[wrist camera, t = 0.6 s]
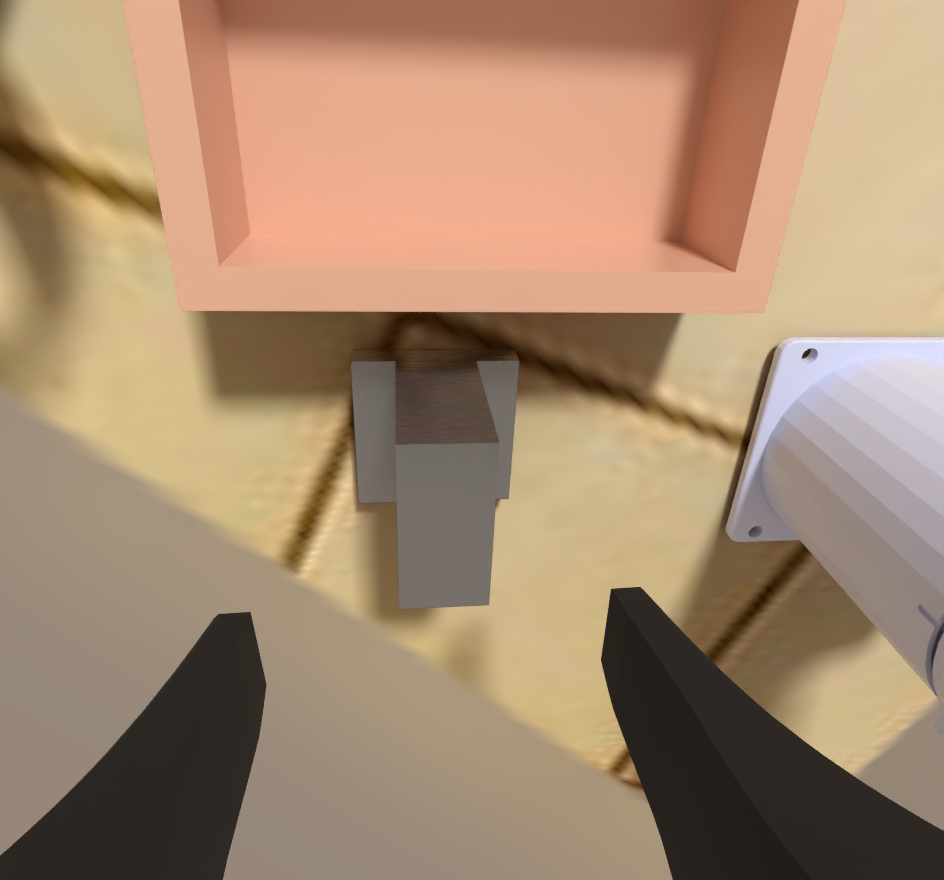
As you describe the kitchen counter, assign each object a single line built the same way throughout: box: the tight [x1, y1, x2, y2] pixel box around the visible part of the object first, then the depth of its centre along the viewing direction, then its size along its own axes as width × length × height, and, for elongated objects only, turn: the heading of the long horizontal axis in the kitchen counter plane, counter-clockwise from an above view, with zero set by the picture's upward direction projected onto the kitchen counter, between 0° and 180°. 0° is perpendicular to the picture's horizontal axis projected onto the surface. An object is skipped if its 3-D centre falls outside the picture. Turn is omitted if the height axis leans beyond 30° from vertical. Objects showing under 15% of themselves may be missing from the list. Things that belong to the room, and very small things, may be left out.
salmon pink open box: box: [122, 0, 846, 313], centre depth 15 cm, size 14×10×4 cm
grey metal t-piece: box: [351, 349, 519, 609], centre depth 19 cm, size 5×5×6 cm
